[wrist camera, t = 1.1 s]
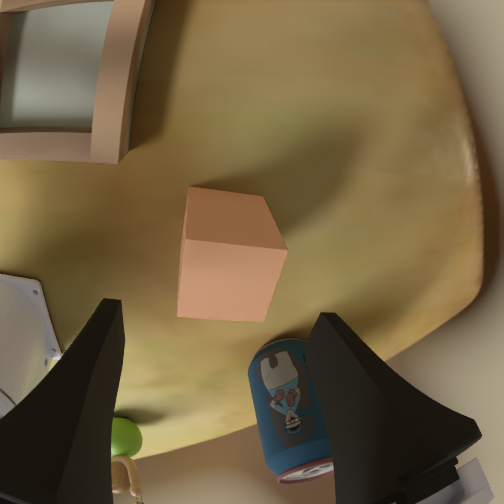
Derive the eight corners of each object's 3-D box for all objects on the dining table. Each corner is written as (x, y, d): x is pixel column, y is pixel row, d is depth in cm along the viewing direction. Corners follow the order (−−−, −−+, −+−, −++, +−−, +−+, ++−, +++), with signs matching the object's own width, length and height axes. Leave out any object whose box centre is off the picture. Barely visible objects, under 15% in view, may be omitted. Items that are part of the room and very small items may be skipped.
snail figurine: (156, 421, 32) (159, 508, 22) (124, 430, 33) (123, 509, 24) (124, 404, 29) (120, 500, 20) (93, 414, 30) (86, 499, 21)
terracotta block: (247, 257, 21) (263, 321, 16) (180, 250, 20) (176, 316, 15) (263, 196, 18) (288, 250, 14) (188, 186, 17) (185, 239, 12)
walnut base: (128, 151, 15) (117, 164, 13) (-8, 147, 13) (-30, 160, 11) (161, -18, 10) (155, -32, 8) (8, -2, 8) (-13, -6, 6)
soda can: (288, 381, 30) (316, 483, 21) (232, 369, 28) (251, 487, 18) (331, 342, 28) (376, 452, 18) (274, 324, 25) (313, 459, 15)
